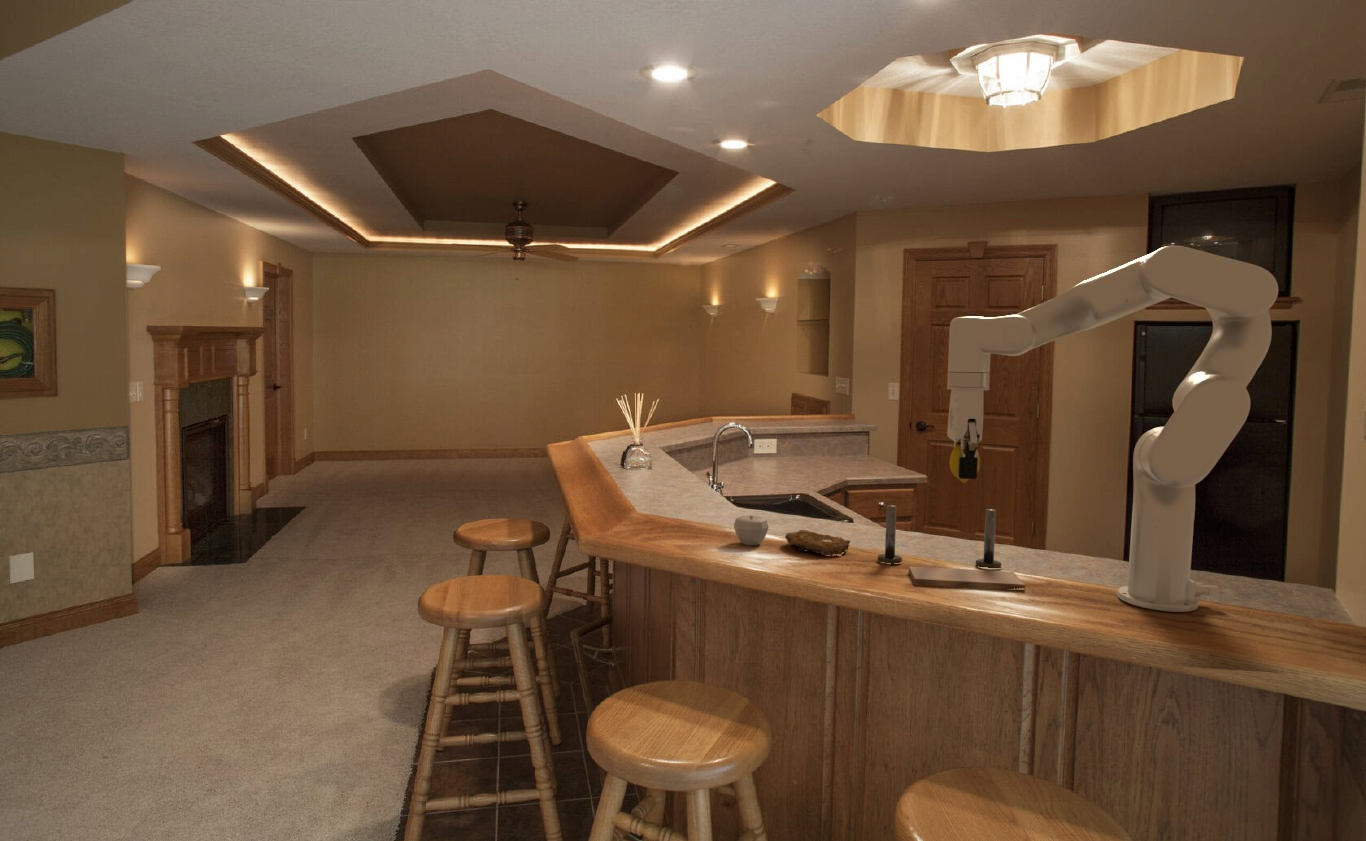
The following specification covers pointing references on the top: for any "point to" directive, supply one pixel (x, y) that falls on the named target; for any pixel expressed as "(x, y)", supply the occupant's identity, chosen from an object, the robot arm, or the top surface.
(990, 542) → the post arm side
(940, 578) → the walnut board
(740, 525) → the apple
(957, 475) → the lemon
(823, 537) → the decorative rock
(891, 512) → the post far side
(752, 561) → the top surface
